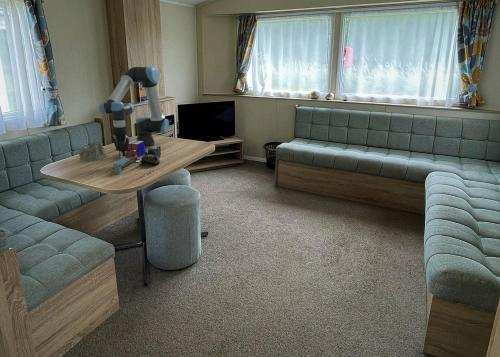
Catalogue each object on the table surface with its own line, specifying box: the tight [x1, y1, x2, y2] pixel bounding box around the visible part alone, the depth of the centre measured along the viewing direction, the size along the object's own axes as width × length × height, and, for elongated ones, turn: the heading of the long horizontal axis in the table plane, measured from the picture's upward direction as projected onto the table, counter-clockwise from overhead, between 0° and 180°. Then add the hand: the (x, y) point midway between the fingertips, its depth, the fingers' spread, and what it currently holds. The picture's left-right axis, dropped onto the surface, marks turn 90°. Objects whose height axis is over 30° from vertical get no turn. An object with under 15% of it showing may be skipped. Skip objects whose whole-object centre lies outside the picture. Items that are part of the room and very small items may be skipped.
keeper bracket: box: [112, 157, 129, 175], centre depth 222 cm, size 14×5×6 cm, turn 177°
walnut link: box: [121, 155, 139, 169], centre depth 233 cm, size 24×5×3 cm, turn 168°
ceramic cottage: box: [78, 139, 108, 162], centre depth 247 cm, size 16×16×15 cm
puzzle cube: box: [125, 140, 146, 158], centre depth 257 cm, size 10×10×10 cm
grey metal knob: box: [130, 150, 141, 164], centre depth 242 cm, size 8×8×8 cm
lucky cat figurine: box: [139, 146, 162, 165], centre depth 238 cm, size 15×12×14 cm
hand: (123, 160), depth 234 cm, fingers closed
